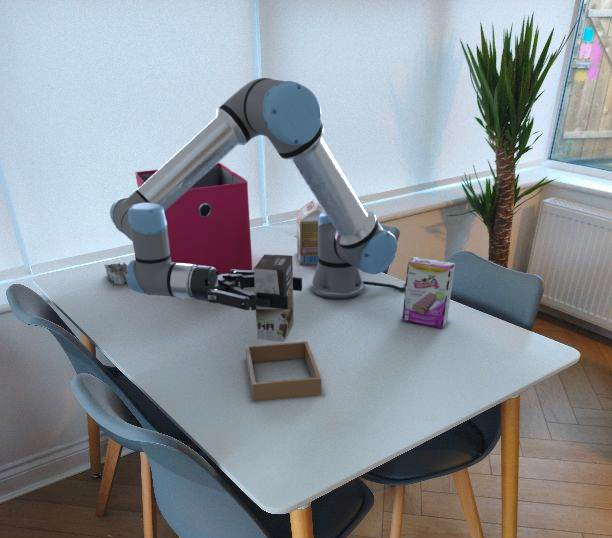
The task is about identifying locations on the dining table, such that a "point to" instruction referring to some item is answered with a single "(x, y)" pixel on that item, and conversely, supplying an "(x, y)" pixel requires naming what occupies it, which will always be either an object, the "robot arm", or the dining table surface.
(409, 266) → the candy bar box
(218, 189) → the storage bin
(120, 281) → the egg carton
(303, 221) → the milk carton
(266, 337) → the coffee box
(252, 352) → the wooden box
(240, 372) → the dining table surface
